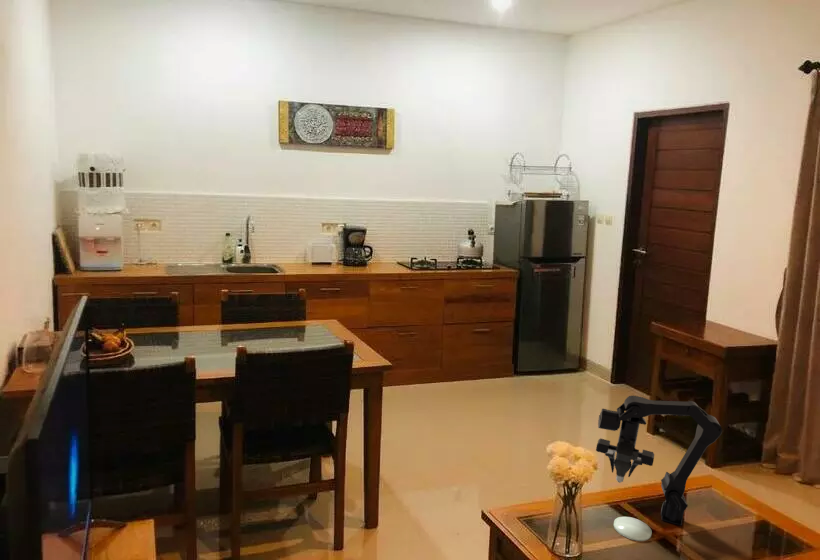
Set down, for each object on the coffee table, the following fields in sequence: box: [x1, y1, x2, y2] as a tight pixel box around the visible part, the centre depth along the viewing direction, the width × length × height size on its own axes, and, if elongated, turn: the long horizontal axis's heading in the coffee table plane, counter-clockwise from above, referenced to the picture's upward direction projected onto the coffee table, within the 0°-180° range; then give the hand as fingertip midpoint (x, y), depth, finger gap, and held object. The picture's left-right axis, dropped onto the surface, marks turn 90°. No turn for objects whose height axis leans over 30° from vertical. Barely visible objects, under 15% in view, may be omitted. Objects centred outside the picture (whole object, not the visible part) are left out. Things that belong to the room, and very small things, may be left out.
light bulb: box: [614, 458, 632, 484], centre depth 228 cm, size 6×6×10 cm
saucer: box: [613, 516, 653, 542], centre depth 219 cm, size 12×12×1 cm
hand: (620, 474), depth 228 cm, fingers closed on light bulb, 5 cm apart
